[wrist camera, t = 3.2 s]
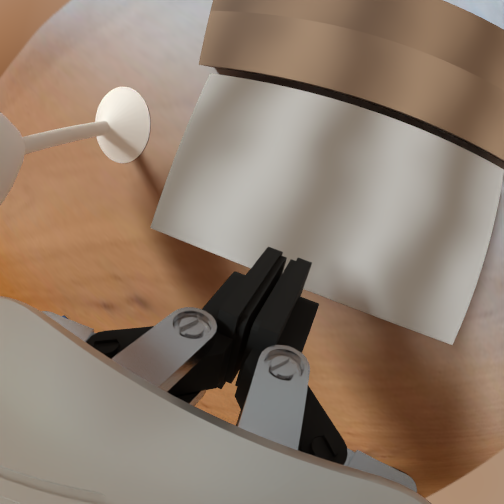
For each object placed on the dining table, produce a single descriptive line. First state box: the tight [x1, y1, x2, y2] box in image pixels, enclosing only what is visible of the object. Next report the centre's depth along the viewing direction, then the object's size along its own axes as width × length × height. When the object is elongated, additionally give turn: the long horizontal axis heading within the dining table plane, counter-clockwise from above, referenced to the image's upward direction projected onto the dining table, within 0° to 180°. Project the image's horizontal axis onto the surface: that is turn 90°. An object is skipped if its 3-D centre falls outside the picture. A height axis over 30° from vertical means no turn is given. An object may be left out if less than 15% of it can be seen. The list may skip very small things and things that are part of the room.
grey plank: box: [151, 73, 504, 345], centre depth 16 cm, size 18×10×2 cm, turn 78°
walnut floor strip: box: [199, 0, 504, 161], centre depth 14 cm, size 20×8×2 cm, turn 78°
